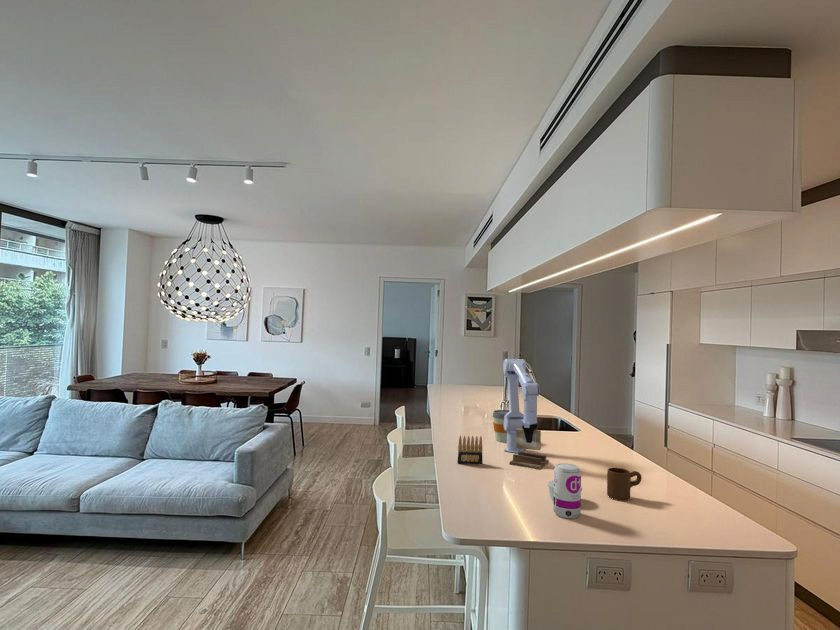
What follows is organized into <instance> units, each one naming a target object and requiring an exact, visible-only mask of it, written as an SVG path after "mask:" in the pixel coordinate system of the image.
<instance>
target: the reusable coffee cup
mask: <svg viewBox="0 0 840 630" xmlns="http://www.w3.org/2000/svg"><path fill="white" fill-rule="evenodd" d="M492 412H493V413H492V417H493V423H492V424H493V425H492V426H493V432H494V434H495V441H496V442H499V443H504V444H505V443H506V444H507V431H505V429H504V416H505V415H506V414H507V413H508V412H509V410H508V409H496V410H495V409H494V410H493V411H492Z"/></svg>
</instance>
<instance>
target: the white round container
mask: <svg viewBox="0 0 840 630" xmlns="http://www.w3.org/2000/svg"><path fill="white" fill-rule="evenodd" d="M547 487H548V493H549V498H550V499H551V500H552V502H554V479H553V480H550V481H548V483H547ZM582 491H583V487H582V485H581V492H582Z"/></svg>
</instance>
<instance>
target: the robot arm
mask: <svg viewBox="0 0 840 630" xmlns="http://www.w3.org/2000/svg"><path fill="white" fill-rule="evenodd" d="M526 368H527V362H526V360H525V359H524V358H505V359H504V360H503V364H502V369H503V375H504V377H505V378H507V379H506V380H507V388H508V389H507V391H508V407H509V408H508V409H509V412H508V413H507V414H506V415H505V416H504V429H505V431H507V443H506V448H505V449H503V451H504V452H508V453H514V454H518V452H519V451H522V452H525V451H526V450H527V449H520V448H516V430H517V429H523V431H524V433H525V438H526V442H527V443H531V442H532V438H533V433H534V430H537V428H538V427H539V424H538V396H539V395H540V391H541V389H540V385H539V383H538V382H535V381H534V379H533V378H532V376H531V374H530V373H527V370H526ZM518 381H519V382H518ZM518 383H519V384H520V386H521V393H522V400H523V413H522V412H521V411H520V402H519V401H520V398H519V397H520V396H519V384H518Z"/></svg>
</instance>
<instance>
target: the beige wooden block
mask: <svg viewBox="0 0 840 630" xmlns="http://www.w3.org/2000/svg"><path fill="white" fill-rule="evenodd" d="M541 433H542V431H541V430H539V429H538V430H537V429H536V430H534V433H533V438H532V442H531V443H527V442H526V438H525V433H524V431H523V429H517V430H516V448H520V449H526V450H531V451H540V450H541V448H542V447H541V446H542V443H541V442H542V438H541V437H542V434H541Z"/></svg>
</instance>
